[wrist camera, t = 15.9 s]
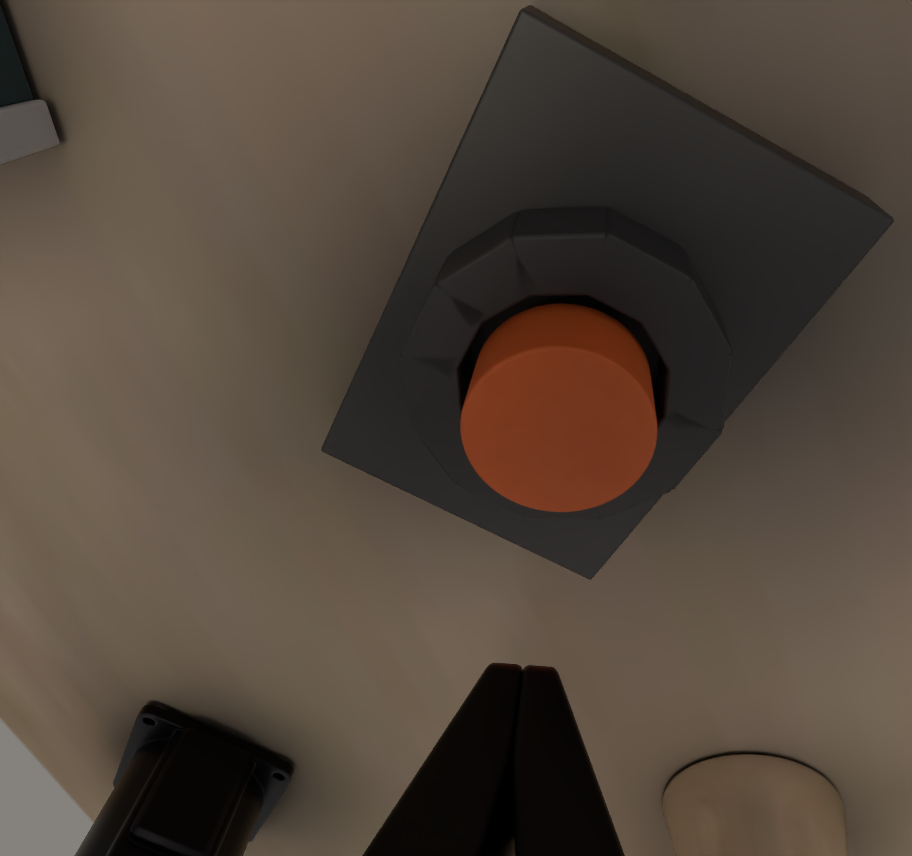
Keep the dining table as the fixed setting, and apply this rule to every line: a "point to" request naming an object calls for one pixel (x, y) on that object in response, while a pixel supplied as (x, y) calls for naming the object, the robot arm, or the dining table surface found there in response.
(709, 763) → the beer glass
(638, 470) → the power button
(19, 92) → the iron
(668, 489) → the switch block
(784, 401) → the dining table surface
